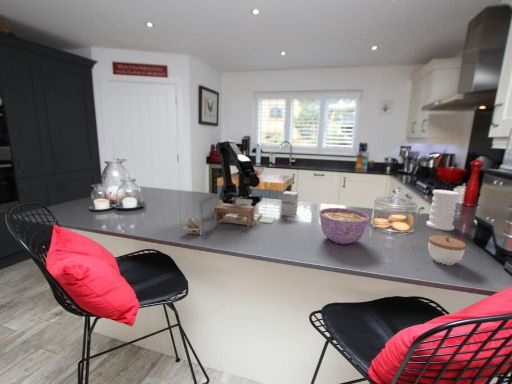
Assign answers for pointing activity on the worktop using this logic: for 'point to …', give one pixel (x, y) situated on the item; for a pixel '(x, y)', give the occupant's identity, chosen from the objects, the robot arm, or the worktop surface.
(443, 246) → the lidded jar
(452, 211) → the decorative container
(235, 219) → the board
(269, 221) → the tile
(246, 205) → the block
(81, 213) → the worktop surface
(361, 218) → the bowl of food
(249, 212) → the brown wooden u-shape
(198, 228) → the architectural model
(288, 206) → the supplement box
